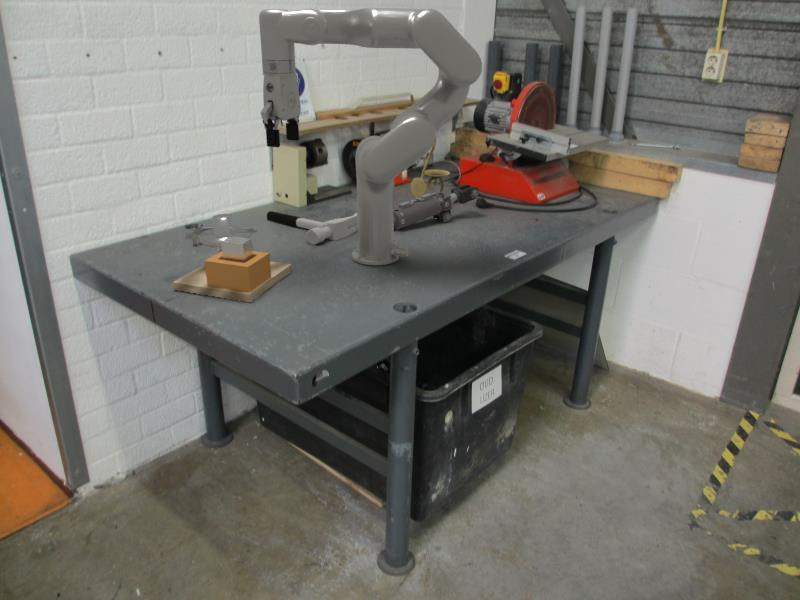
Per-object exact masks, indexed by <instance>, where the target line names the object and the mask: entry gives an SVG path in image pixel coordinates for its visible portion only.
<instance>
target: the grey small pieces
mask: <svg viewBox="0 0 800 600" xmlns="http://www.w3.org/2000/svg"><path fill="white" fill-rule="evenodd" d="M243 228H244V229H246V230H248V231H249V232H252V233H254V232H258V230H257V229H255V228H254V227H243ZM209 229H214V226H212V227H211V226H206V227H205V226H202V223H199V224H197V223H195V224H194V227H192V232H191V239H192V245H193V246H194V247H196V246H197V244H199V246H201V245H203V244H201V243H200V240H199V239H198V238H199V235H200V234H201V233H202V232H204V231H206V230H209Z"/></svg>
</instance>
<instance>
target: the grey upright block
mask: <svg viewBox="0 0 800 600" xmlns="http://www.w3.org/2000/svg"><path fill="white" fill-rule="evenodd" d="M221 248H222V257H223V260H228V261H235V262H242V263H245V262H247V261H248V260H250V259H252V258H253V251H254V249H253V240H252V238H250V239H249V238H241V237H232V236H230V237H228V238H226V239H225V240H223V241H221Z"/></svg>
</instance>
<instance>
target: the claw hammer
mask: <svg viewBox="0 0 800 600" xmlns="http://www.w3.org/2000/svg"><path fill="white" fill-rule="evenodd" d="M266 219H267V221H269V220H271V221H270V222H273V221H274V222H273V223H277V222H278V223H279V224H281V223H282V224H283V225H287V226H290V227H296V228H300V229H301V228H302V229H308V230H307V231H306V232H305V239H306V240H307V242H308V243H309V244H310V245H311V246H314V245H318V244H320V243H323V242H324V241H325V239H327V240H331V241H338V240H342V239H345V238H348V237H349V236H351V235H352V234H354V233H356V232H357V212H355V213H353V214H352V215H350V216H347V217H346V216H345V217H341V218H334V219H330V220H326V221H317V220H312V219H309V218H305V217H301V216H297V215H291V214H287V213H281V212H277V211H272V210H269V211H268V212H267V213H266Z"/></svg>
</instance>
